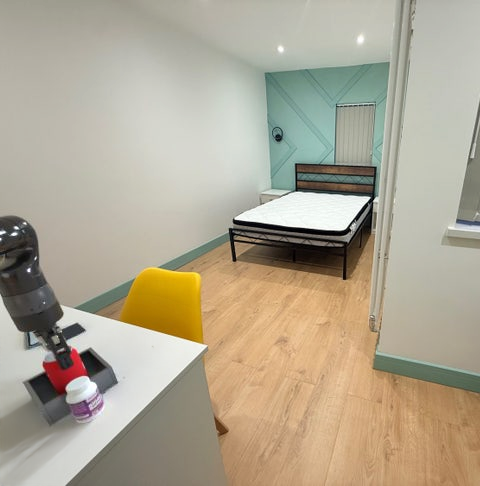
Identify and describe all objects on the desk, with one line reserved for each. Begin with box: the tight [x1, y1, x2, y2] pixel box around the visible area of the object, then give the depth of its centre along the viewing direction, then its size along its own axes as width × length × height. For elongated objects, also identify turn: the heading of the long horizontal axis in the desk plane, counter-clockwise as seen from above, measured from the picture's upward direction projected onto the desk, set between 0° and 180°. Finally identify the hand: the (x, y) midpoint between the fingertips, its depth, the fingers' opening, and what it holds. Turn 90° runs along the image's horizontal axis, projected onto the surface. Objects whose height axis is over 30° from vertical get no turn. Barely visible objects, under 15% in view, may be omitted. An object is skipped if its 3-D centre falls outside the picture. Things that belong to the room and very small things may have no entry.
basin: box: [22, 347, 119, 427], centre depth 67 cm, size 14×14×6 cm
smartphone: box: [25, 332, 43, 350], centre depth 89 cm, size 7×1×15 cm
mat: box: [61, 322, 87, 341], centre depth 87 cm, size 9×7×1 cm
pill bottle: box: [66, 376, 106, 424], centre depth 61 cm, size 5×5×10 cm
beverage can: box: [41, 344, 90, 396], centre depth 66 cm, size 6×6×12 cm
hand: (61, 360), depth 64 cm, fingers open, 8 cm apart
